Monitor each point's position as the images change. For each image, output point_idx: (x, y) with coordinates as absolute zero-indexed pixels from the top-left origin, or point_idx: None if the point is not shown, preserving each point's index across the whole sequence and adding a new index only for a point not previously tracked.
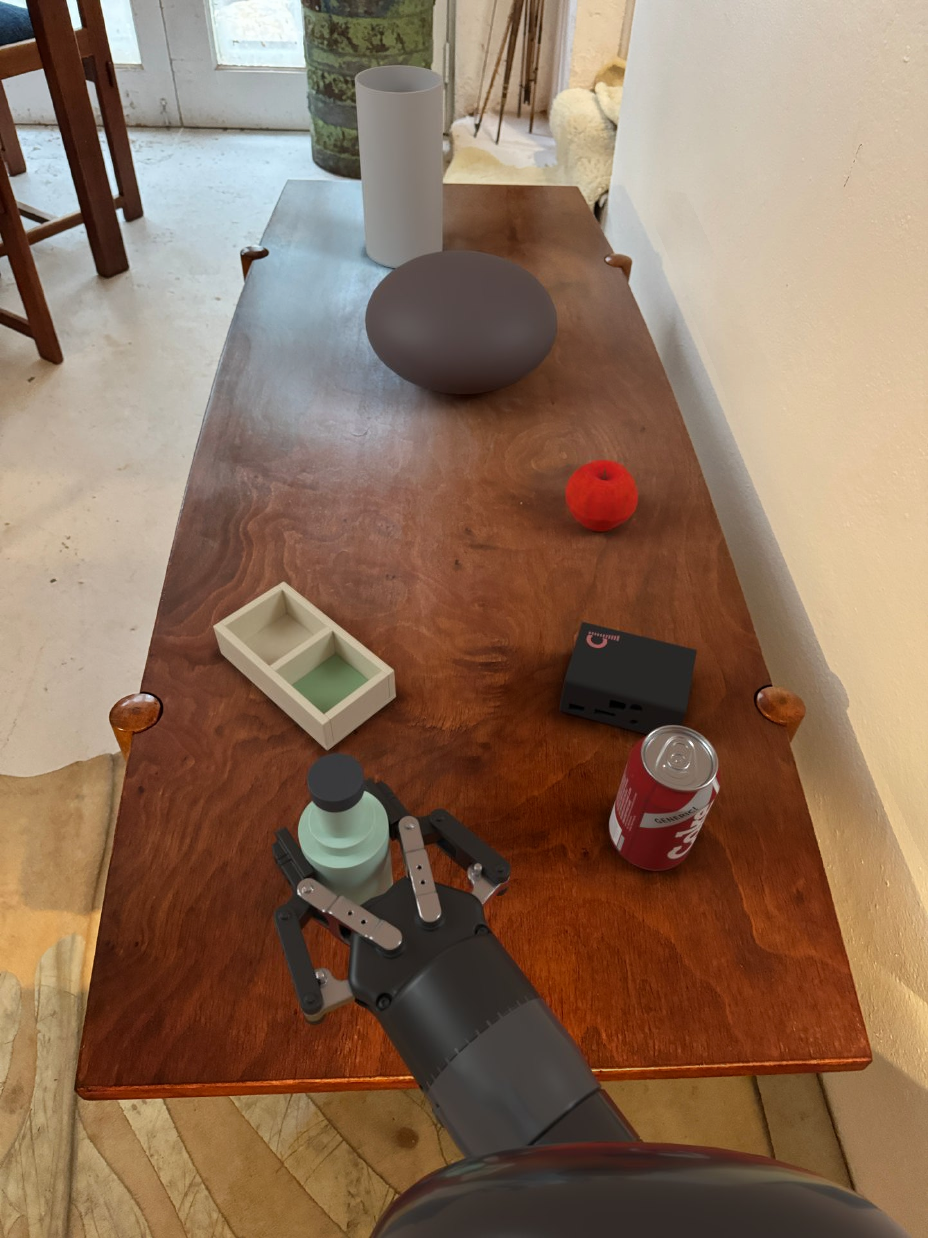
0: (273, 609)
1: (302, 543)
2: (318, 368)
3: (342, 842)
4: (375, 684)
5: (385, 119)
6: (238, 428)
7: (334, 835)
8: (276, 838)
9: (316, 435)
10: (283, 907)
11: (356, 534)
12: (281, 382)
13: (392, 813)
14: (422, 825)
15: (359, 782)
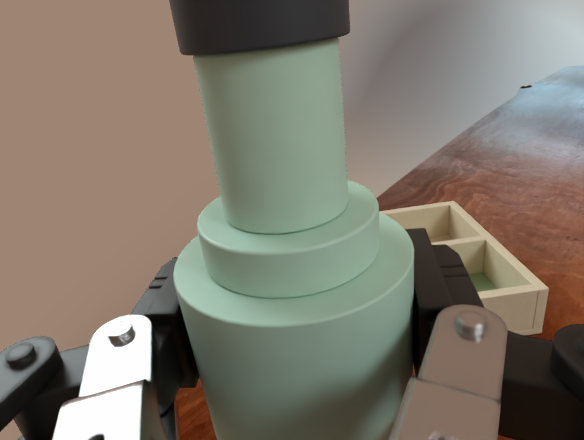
0: (435, 222)
1: (487, 201)
2: (547, 126)
3: (238, 240)
4: (517, 292)
5: None
6: (467, 144)
7: (229, 213)
8: None
9: (530, 152)
10: (42, 341)
11: (544, 205)
12: (513, 129)
13: (437, 290)
14: (519, 355)
15: None
